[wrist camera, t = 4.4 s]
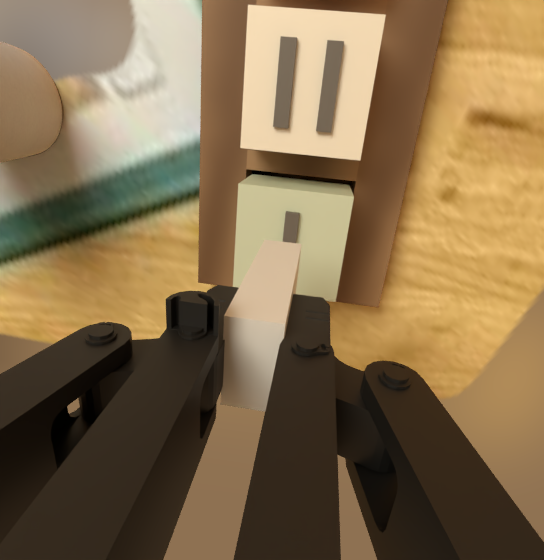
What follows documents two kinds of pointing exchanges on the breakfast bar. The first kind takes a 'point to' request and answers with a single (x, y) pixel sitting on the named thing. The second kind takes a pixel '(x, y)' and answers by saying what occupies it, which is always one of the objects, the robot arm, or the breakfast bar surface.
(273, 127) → the tile
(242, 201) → the slotted block
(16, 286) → the breakfast bar surface
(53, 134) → the coffee cup
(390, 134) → the board
